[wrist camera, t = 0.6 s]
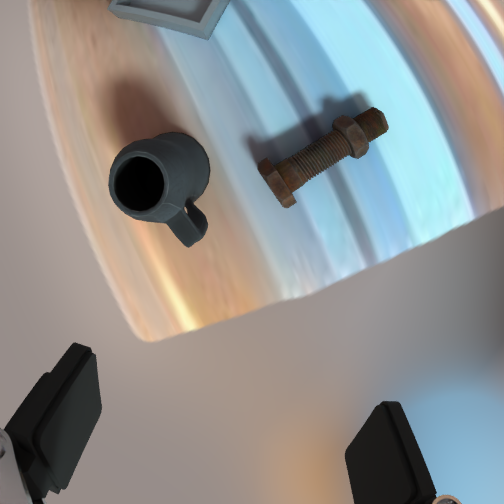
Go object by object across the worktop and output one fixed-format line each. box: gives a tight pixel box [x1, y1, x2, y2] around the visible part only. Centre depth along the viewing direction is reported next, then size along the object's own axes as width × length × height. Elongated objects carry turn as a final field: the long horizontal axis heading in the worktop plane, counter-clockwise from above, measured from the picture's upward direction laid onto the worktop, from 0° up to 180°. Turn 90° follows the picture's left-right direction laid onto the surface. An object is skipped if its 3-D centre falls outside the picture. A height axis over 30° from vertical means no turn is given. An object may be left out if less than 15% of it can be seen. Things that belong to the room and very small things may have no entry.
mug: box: [108, 132, 210, 248], centre depth 31 cm, size 12×9×11 cm
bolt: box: [258, 107, 389, 208], centre depth 32 cm, size 6×5×15 cm
